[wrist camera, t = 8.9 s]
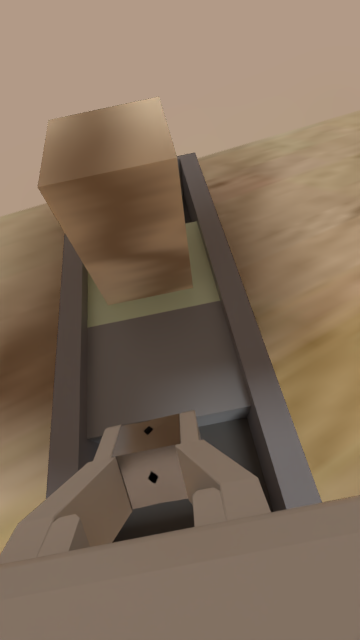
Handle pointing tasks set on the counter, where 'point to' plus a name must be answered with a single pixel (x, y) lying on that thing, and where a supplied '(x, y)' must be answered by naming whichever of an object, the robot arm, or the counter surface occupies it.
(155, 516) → the box
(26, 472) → the counter surface
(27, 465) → the counter surface
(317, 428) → the counter surface
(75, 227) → the block
